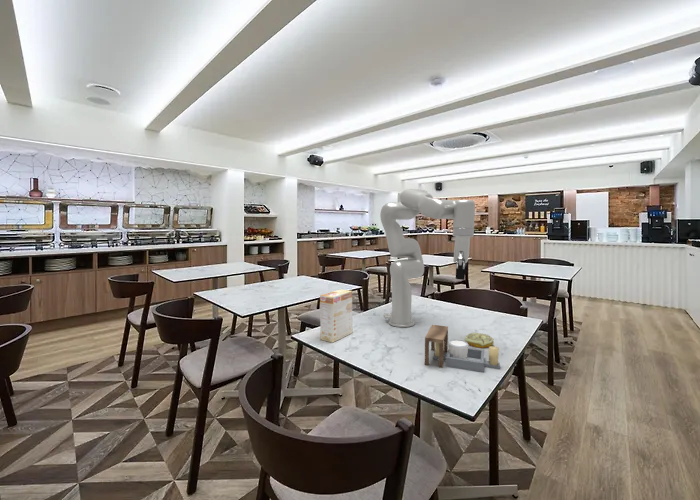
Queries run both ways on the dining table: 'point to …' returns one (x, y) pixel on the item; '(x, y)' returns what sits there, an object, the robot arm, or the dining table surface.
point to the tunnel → (439, 336)
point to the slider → (470, 363)
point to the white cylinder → (458, 349)
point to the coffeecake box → (336, 315)
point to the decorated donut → (479, 340)
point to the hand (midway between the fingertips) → (461, 276)
